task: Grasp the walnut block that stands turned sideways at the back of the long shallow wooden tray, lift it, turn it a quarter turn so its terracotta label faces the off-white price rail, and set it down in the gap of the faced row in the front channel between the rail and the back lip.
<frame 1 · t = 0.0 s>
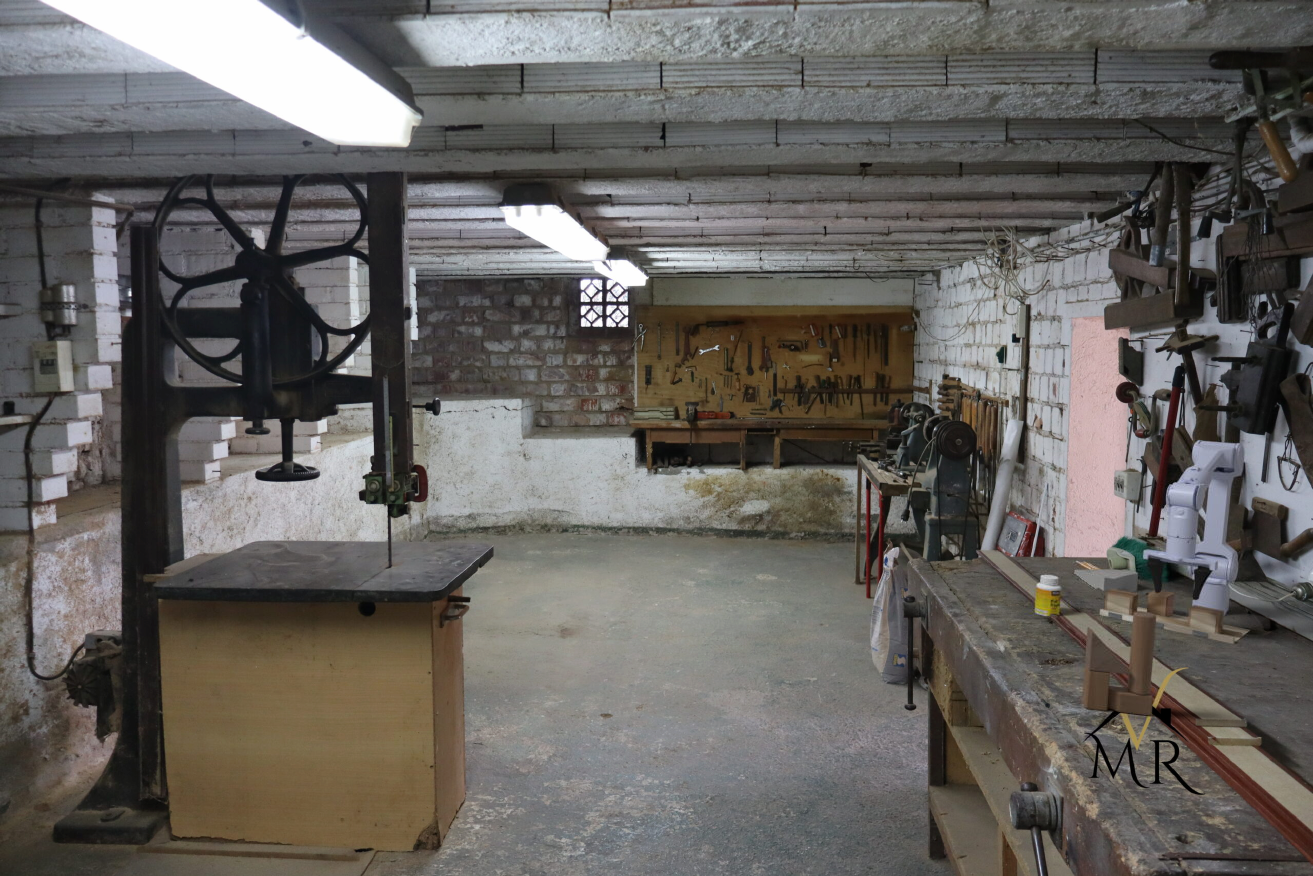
hand: (1176, 595, 202), 10 cm above the workbench, fingers open, 7 cm apart
wooden block: (1115, 710, 161), on the workbench
long shallow wooden tray: (1172, 627, 212), on the workbench
faced block b: (1120, 615, 217), point 1 cm above the workbench, touching long shallow wooden tray
faced block a: (1204, 633, 204), point 1 cm above the workbench, touching long shallow wooden tray
supplement bottle: (1046, 618, 217), on the workbench
turned block: (1159, 615, 217), point 1 cm above the workbench, touching long shallow wooden tray
ramp: (1104, 586, 252), on the workbench
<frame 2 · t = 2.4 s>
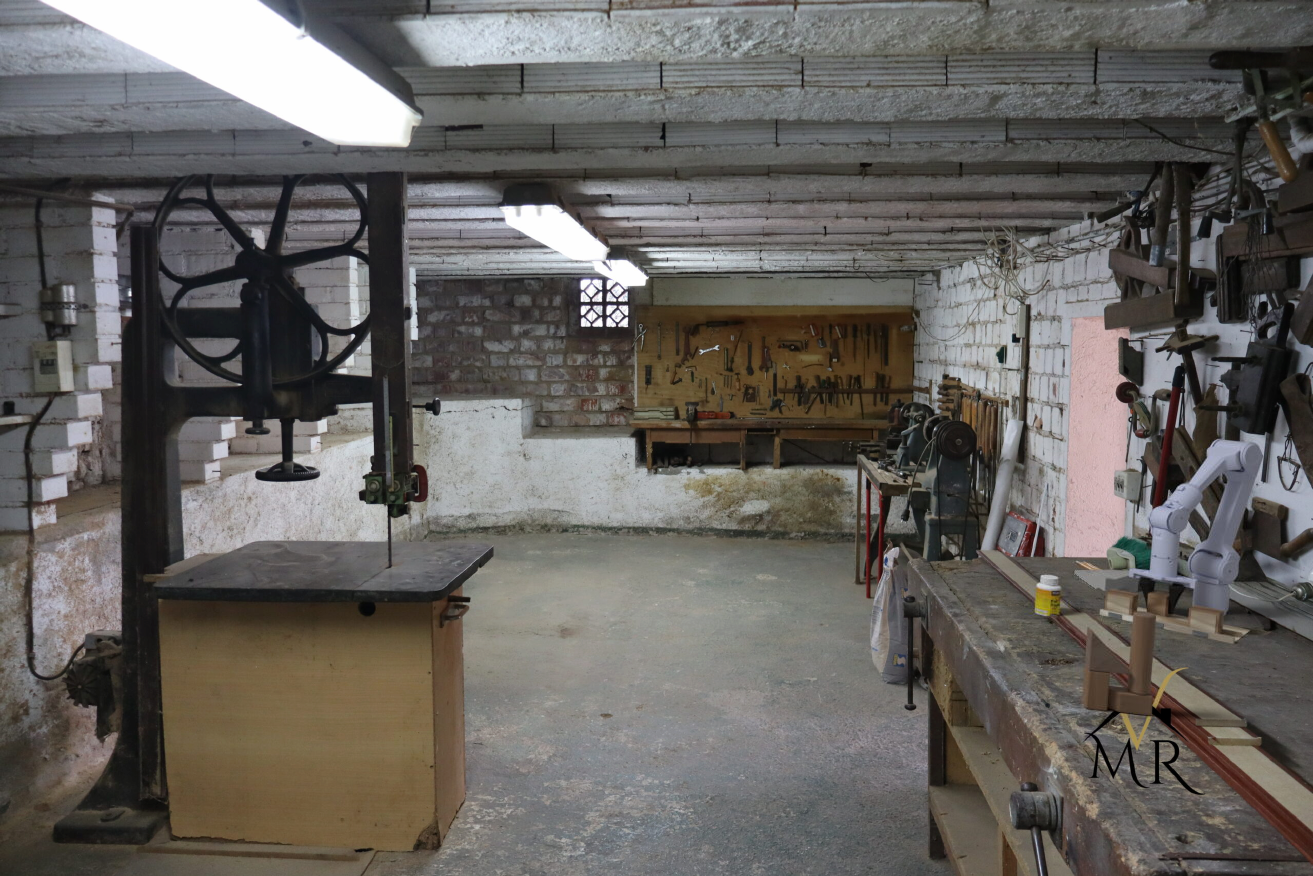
hand: (1159, 611, 217), 2 cm above the workbench, fingers closed on turned block, 4 cm apart
turned block: (1159, 615, 217), point 1 cm above the workbench, touching gripper, long shallow wooden tray
everything else where it was.
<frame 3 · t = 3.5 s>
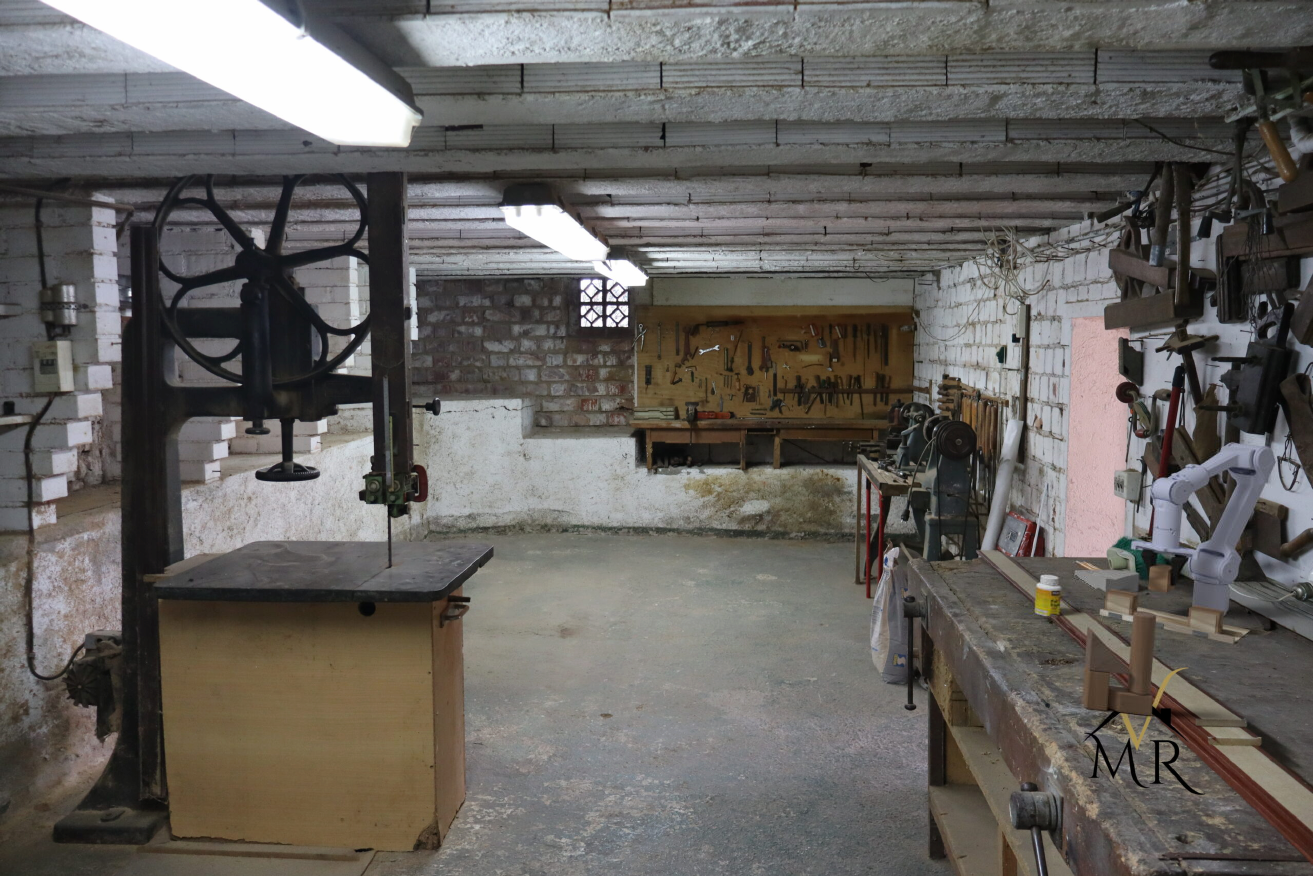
hand: (1162, 583, 216), 9 cm above the workbench, fingers closed on turned block, 4 cm apart
turned block: (1161, 589, 216), point 8 cm above the workbench, touching gripper
everything else where it was.
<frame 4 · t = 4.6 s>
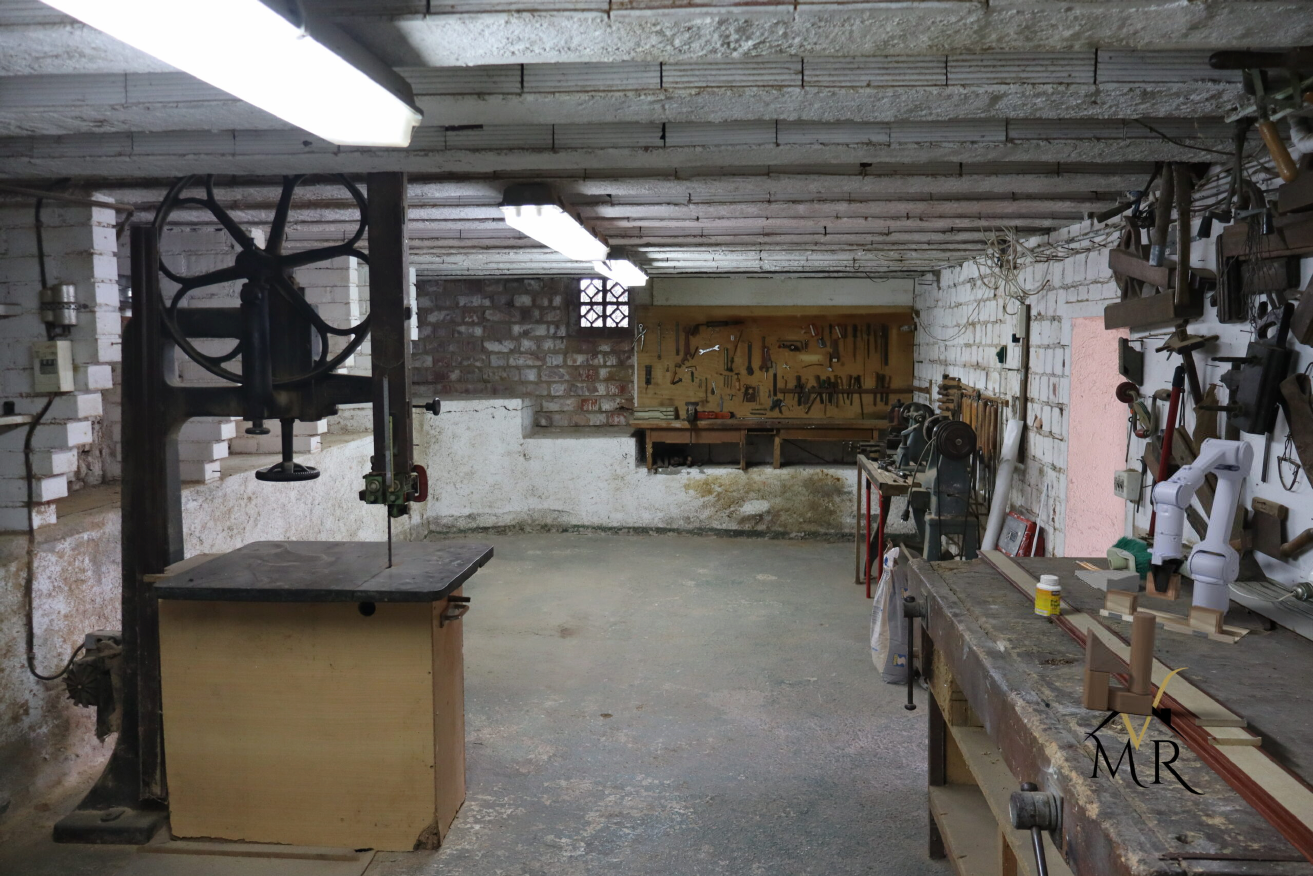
hand: (1163, 590, 210), 9 cm above the workbench, fingers closed on turned block, 4 cm apart
turned block: (1162, 596, 210), point 8 cm above the workbench, touching gripper
everything else where it was.
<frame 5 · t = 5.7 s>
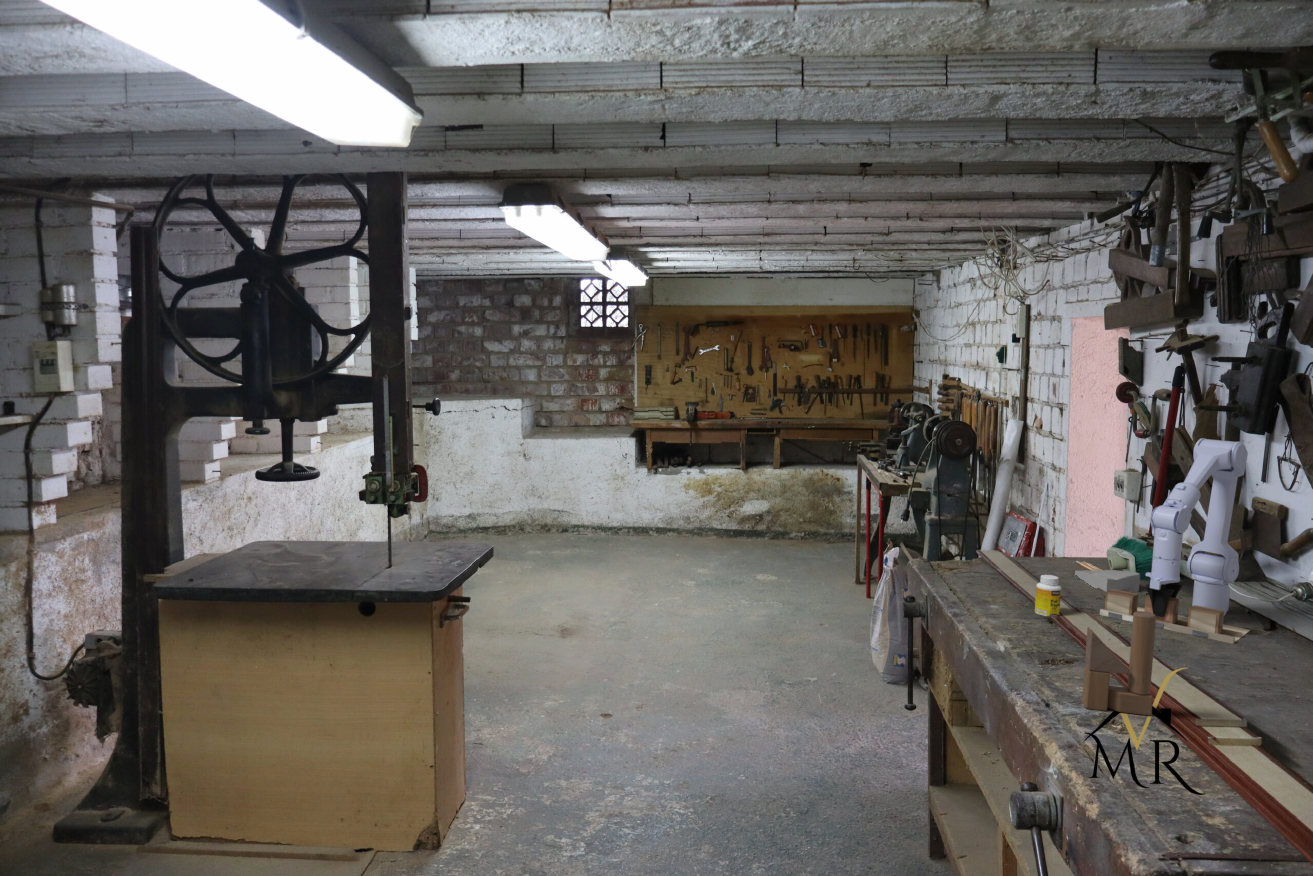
hand: (1162, 614, 210), 3 cm above the workbench, fingers closed on turned block, 4 cm apart
turned block: (1160, 620, 210), point 2 cm above the workbench, touching gripper
when the fingers open (3 cm above the workbench, at t = 6.5 s): turned block stays where it is, resting on long shallow wooden tray.
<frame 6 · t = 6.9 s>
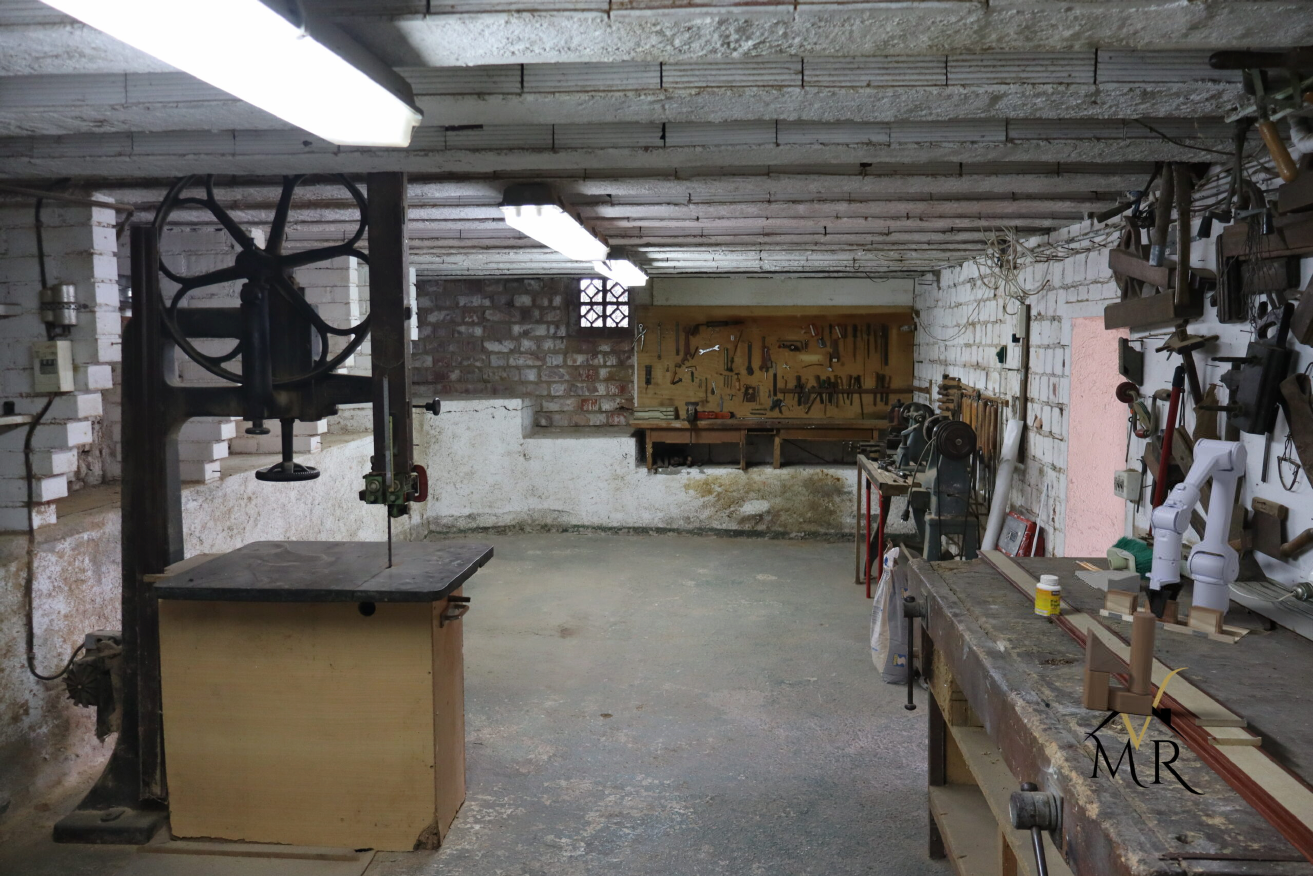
hand: (1162, 614, 210), 3 cm above the workbench, fingers open, 7 cm apart
turned block: (1160, 623, 210), point 1 cm above the workbench, touching long shallow wooden tray
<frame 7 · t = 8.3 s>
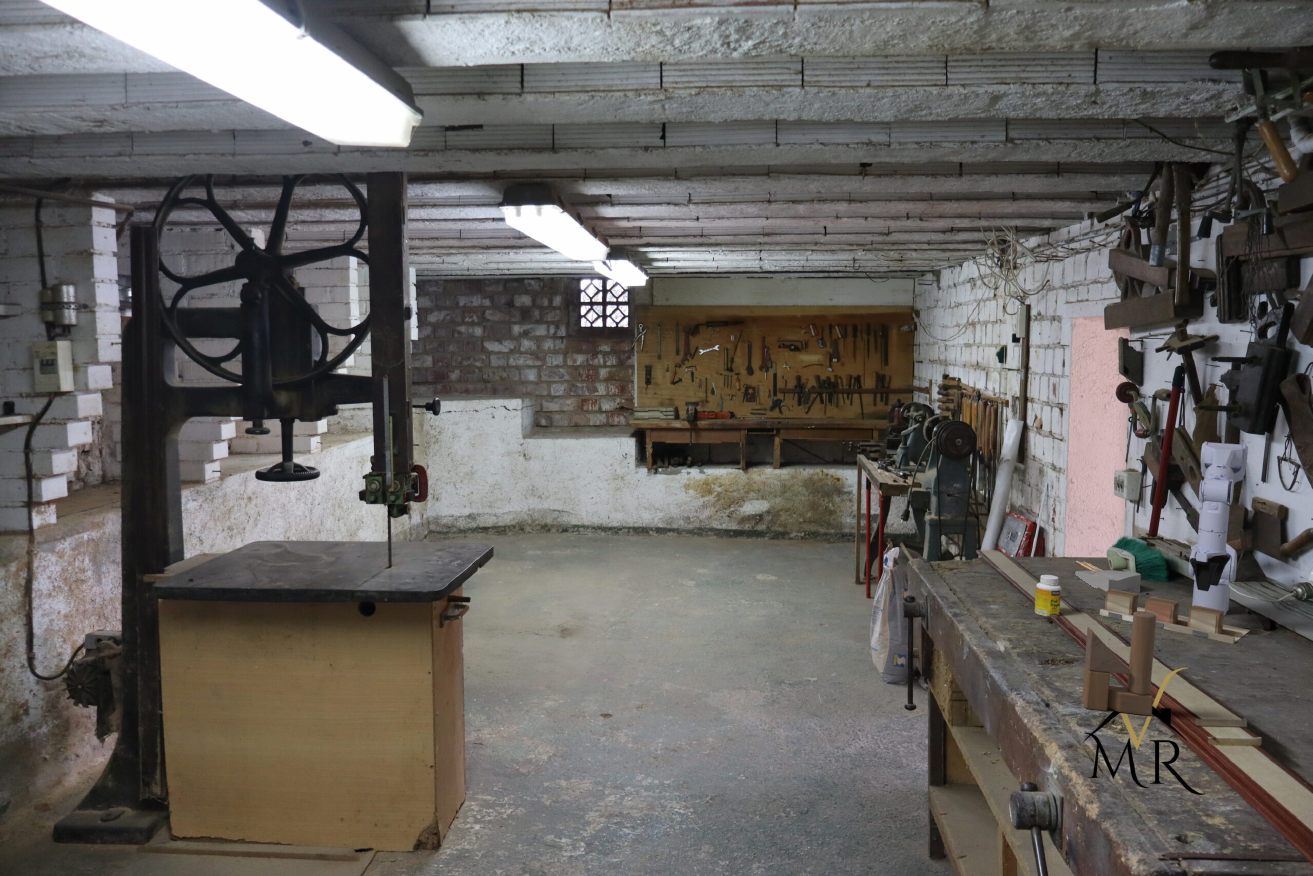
hand: (1207, 587, 208), 10 cm above the workbench, fingers open, 7 cm apart
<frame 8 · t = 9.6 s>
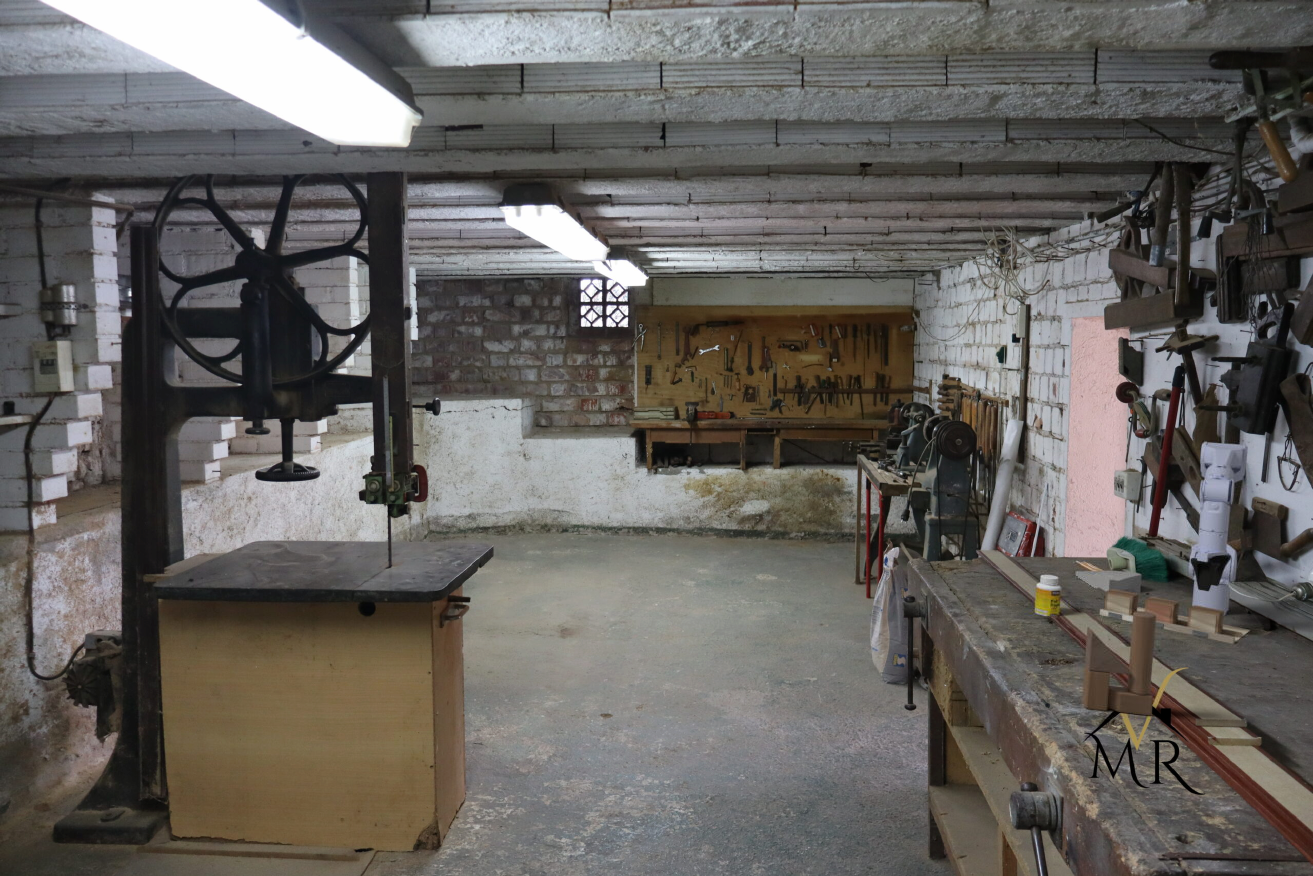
hand: (1208, 587, 208), 10 cm above the workbench, fingers open, 7 cm apart
at the end: turned block 0.2 cm from the target spot on the long shallow wooden tray, point 1.2 cm above the long shallow wooden tray's base; turned block tilted 0°; the gripper is holding nothing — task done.
